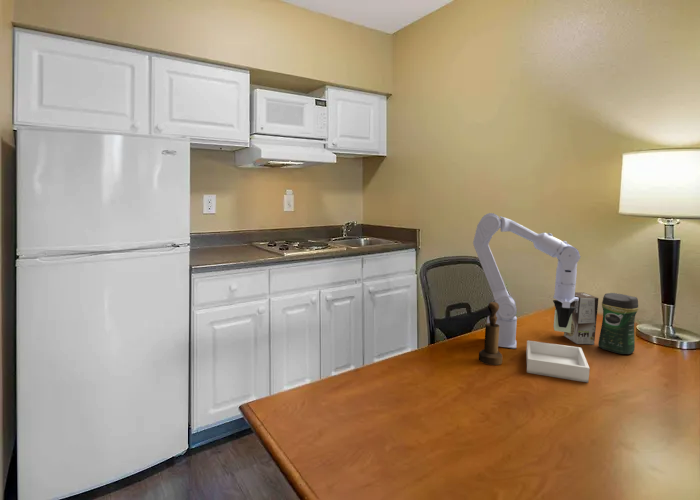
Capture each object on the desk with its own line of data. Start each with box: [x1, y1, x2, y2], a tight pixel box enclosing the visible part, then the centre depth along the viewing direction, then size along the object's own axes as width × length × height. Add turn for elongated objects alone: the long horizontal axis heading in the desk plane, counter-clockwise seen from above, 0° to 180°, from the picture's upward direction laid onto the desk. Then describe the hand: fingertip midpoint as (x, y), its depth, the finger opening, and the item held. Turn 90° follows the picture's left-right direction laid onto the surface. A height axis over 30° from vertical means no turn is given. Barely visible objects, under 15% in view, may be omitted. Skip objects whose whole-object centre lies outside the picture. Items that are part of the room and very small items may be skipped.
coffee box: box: [563, 291, 600, 345], centre depth 143 cm, size 9×6×16 cm
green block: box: [553, 308, 572, 333], centre depth 132 cm, size 4×4×6 cm
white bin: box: [525, 339, 591, 383], centre depth 120 cm, size 15×17×4 cm
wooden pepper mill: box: [478, 301, 503, 366], centre depth 122 cm, size 7×6×18 cm
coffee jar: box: [598, 292, 639, 355], centre depth 133 cm, size 10×8×19 cm
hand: (561, 324), depth 132 cm, fingers closed on green block, 4 cm apart
